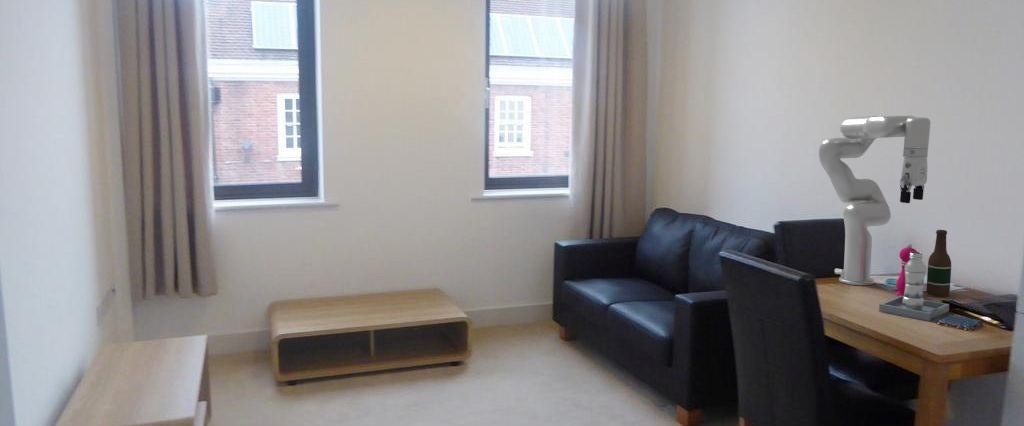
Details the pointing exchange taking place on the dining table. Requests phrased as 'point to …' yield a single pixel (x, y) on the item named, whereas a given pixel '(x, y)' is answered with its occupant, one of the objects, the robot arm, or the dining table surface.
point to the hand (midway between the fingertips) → (911, 201)
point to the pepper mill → (903, 269)
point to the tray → (927, 313)
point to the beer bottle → (939, 268)
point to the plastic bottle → (914, 282)
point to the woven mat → (959, 322)
